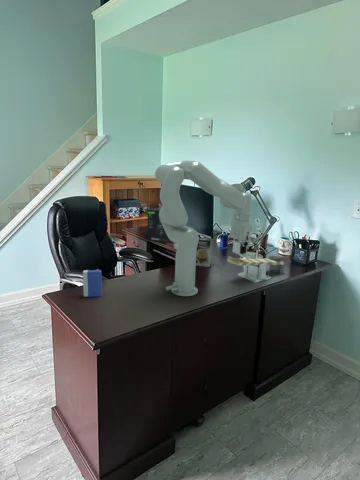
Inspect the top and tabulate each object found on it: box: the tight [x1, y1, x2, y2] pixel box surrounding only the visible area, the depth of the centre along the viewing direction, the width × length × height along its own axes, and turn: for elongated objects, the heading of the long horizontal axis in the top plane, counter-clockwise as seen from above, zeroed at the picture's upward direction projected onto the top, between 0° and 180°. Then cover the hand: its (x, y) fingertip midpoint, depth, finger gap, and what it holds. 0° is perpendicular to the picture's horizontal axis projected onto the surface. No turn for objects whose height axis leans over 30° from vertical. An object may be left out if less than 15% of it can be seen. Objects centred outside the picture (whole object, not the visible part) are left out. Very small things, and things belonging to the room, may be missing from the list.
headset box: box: [147, 206, 175, 244], centre depth 257 cm, size 22×12×26 cm, turn 73°
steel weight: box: [232, 240, 248, 255], centre depth 173 cm, size 5×5×6 cm
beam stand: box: [237, 257, 285, 284], centre depth 187 cm, size 26×13×9 cm, turn 124°
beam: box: [227, 255, 285, 267], centre depth 183 cm, size 36×8×4 cm, turn 124°
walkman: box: [82, 269, 103, 298], centre depth 153 cm, size 8×3×12 cm, turn 96°
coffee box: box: [196, 237, 213, 268], centre depth 201 cm, size 9×6×16 cm
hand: (239, 251), depth 174 cm, fingers closed on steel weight, 5 cm apart
